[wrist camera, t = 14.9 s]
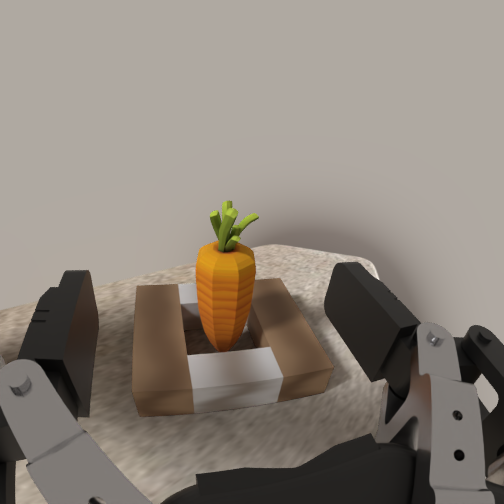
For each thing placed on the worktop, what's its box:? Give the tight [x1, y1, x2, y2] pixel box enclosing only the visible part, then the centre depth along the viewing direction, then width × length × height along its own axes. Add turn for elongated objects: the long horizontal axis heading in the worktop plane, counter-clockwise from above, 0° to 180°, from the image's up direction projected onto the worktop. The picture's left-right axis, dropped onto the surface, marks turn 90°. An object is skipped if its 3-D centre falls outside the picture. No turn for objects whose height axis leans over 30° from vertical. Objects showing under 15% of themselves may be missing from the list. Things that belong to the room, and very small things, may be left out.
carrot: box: [196, 201, 259, 352], centre depth 26 cm, size 5×5×15 cm
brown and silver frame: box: [132, 278, 334, 417], centre depth 29 cm, size 16×14×4 cm
